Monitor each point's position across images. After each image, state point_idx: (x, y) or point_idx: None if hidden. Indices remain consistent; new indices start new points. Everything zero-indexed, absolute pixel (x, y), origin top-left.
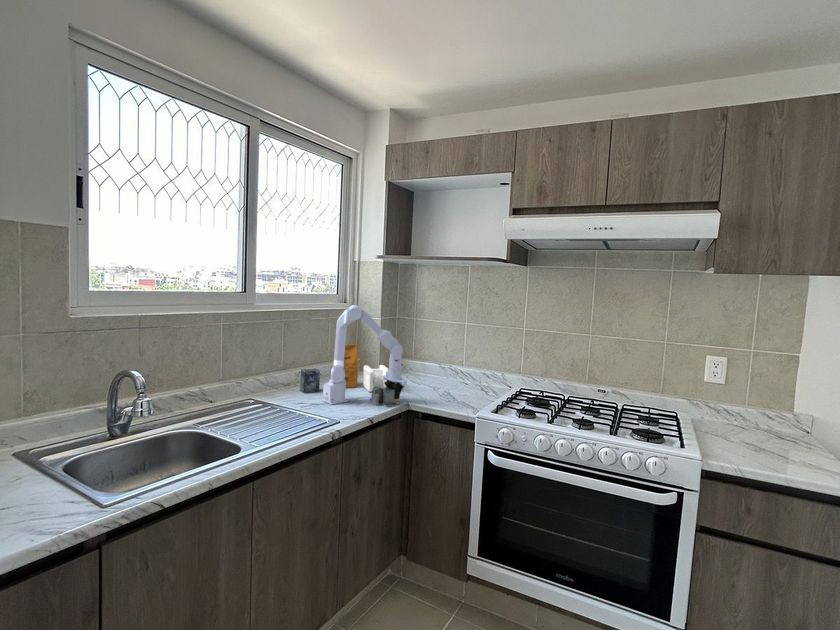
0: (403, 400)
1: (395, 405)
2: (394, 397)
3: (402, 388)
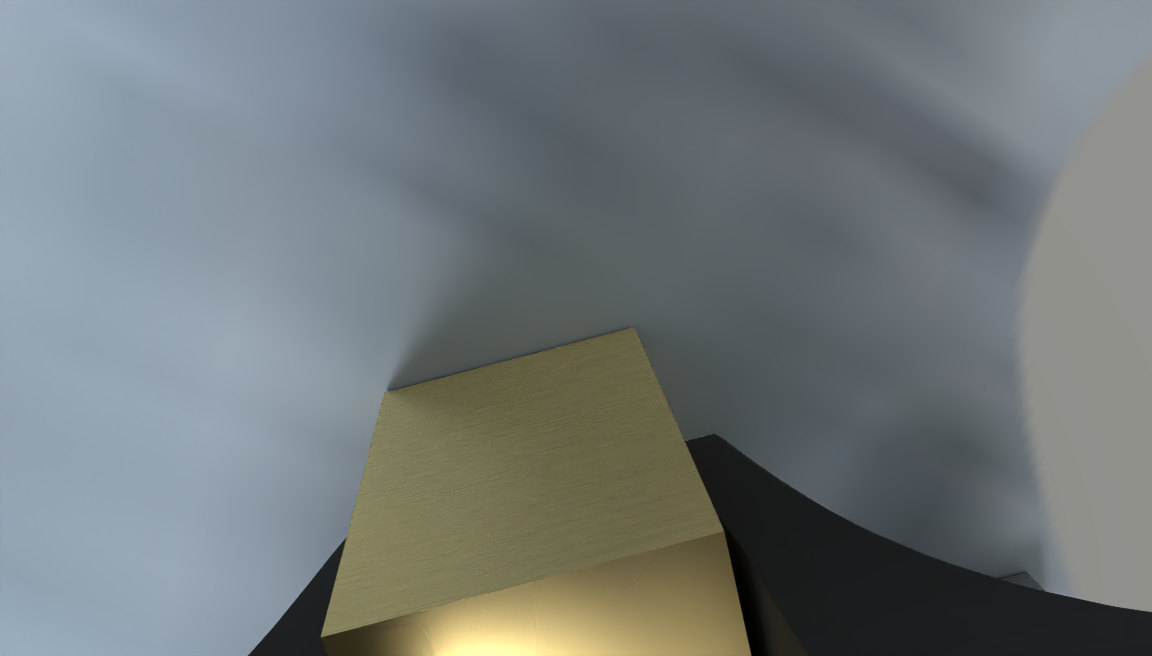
0: (604, 157)
1: None
2: None
3: (1021, 589)
